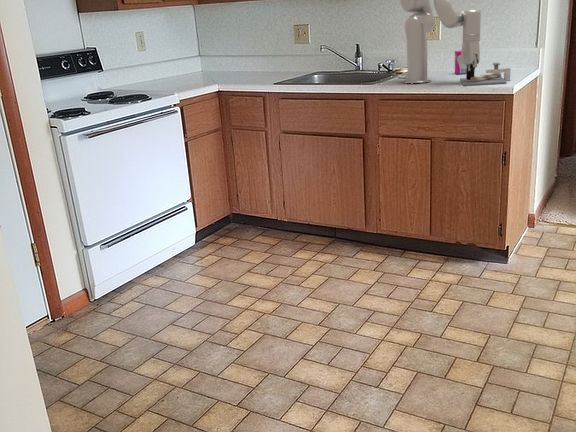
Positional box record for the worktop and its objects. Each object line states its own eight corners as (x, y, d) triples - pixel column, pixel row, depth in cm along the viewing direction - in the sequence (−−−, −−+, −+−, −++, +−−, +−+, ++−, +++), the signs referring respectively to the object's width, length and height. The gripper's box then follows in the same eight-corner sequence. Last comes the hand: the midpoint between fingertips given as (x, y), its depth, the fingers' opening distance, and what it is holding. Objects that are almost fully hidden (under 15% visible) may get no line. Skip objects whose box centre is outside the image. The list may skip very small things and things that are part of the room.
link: (495, 75, 292) (495, 62, 290) (502, 76, 288) (503, 62, 286) (469, 81, 282) (469, 67, 280) (477, 81, 279) (477, 67, 277)
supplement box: (466, 72, 318) (466, 49, 315) (468, 74, 313) (468, 50, 309) (454, 73, 319) (454, 50, 315) (456, 74, 314) (456, 51, 310)
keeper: (486, 82, 283) (486, 70, 281) (486, 81, 285) (486, 69, 283) (510, 80, 281) (510, 68, 279) (509, 79, 283) (509, 68, 281)
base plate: (463, 86, 277) (463, 84, 277) (460, 80, 295) (460, 78, 295) (506, 83, 273) (506, 81, 273) (500, 77, 291) (500, 76, 291)
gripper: (456, 38, 284) (455, 78, 290) (470, 39, 270) (469, 82, 276) (471, 36, 285) (470, 76, 291) (486, 38, 271) (485, 80, 277)
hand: (470, 79), depth 284 cm, fingers closed
